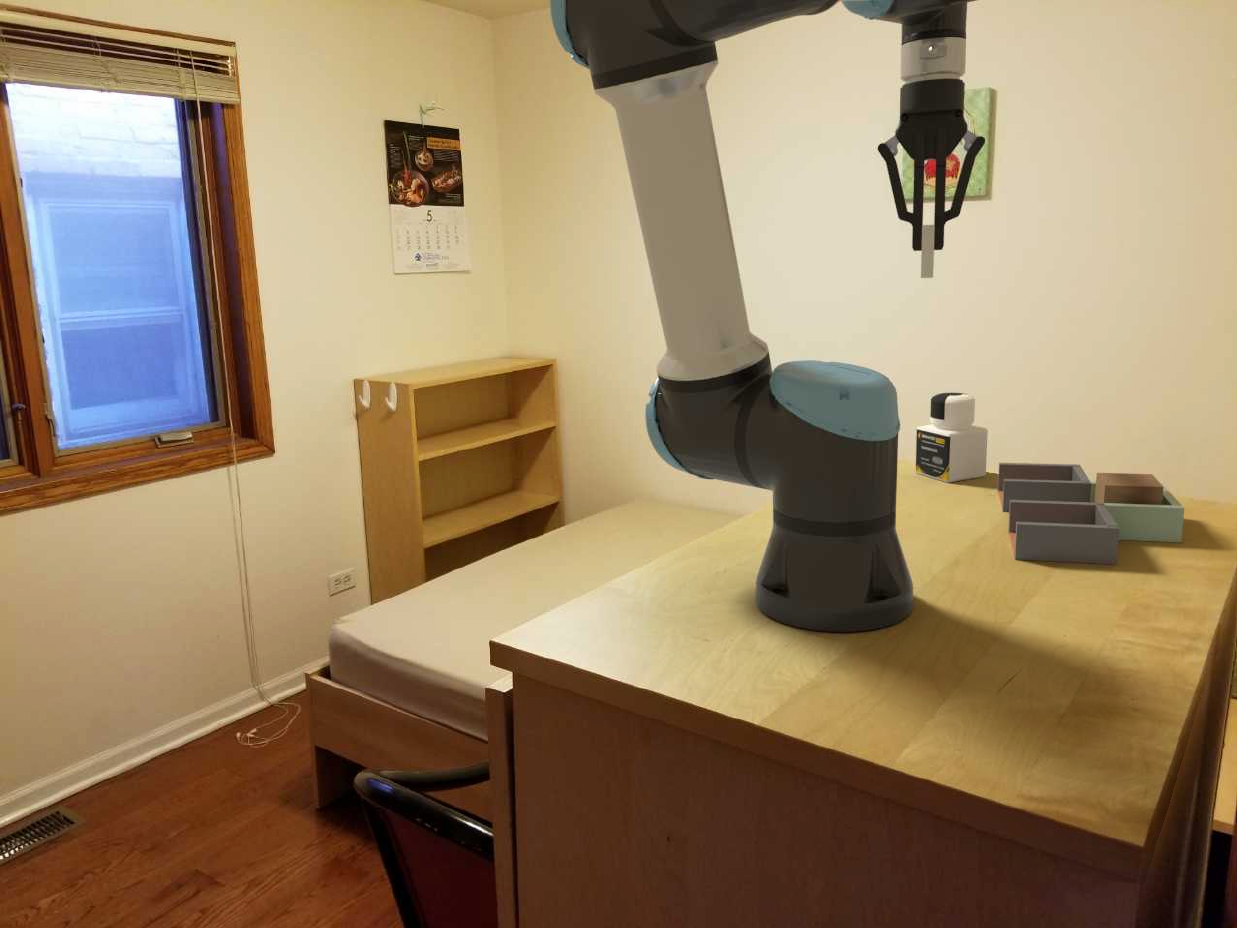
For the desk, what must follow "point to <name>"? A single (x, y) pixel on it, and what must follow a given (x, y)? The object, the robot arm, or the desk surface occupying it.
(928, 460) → the medicine bottle
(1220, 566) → the desk surface
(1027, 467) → the box
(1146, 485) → the walnut block
